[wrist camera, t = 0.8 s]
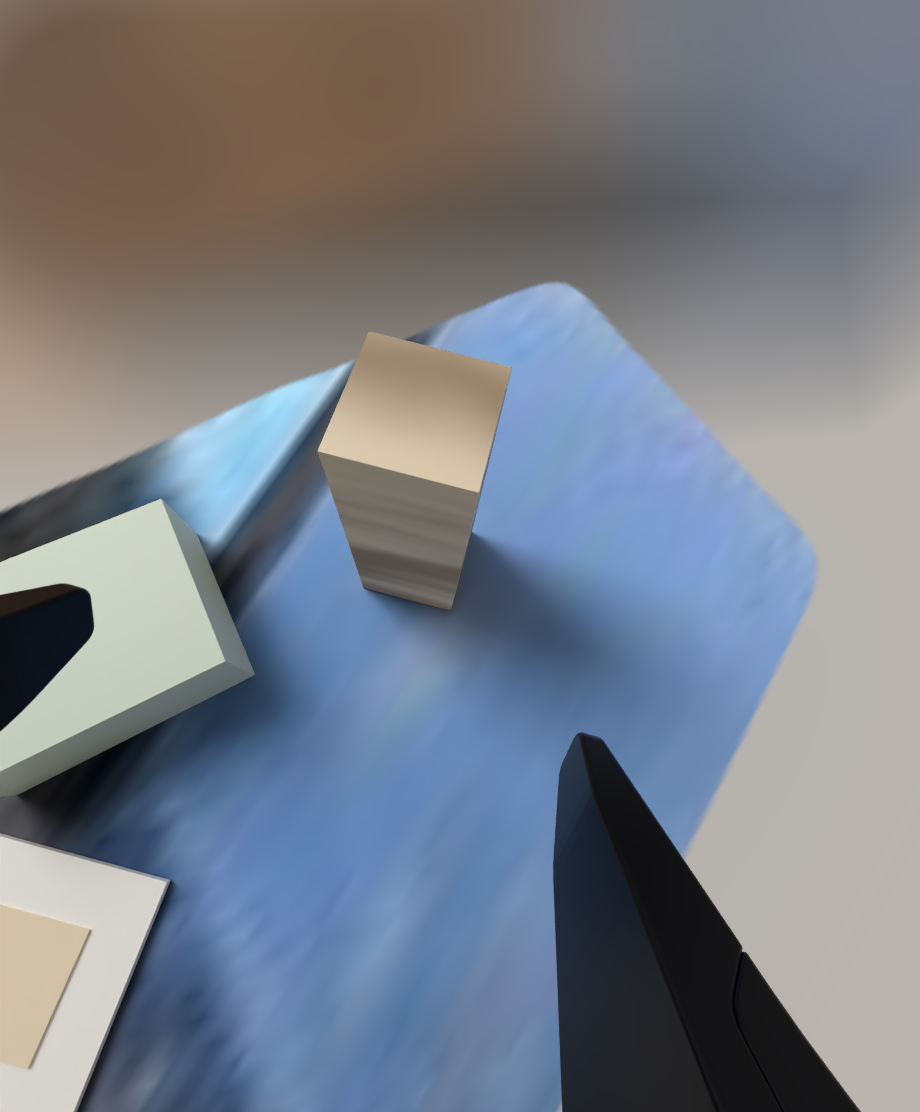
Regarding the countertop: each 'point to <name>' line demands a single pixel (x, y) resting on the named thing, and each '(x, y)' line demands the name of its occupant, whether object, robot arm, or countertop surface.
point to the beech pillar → (412, 463)
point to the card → (63, 967)
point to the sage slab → (122, 641)
